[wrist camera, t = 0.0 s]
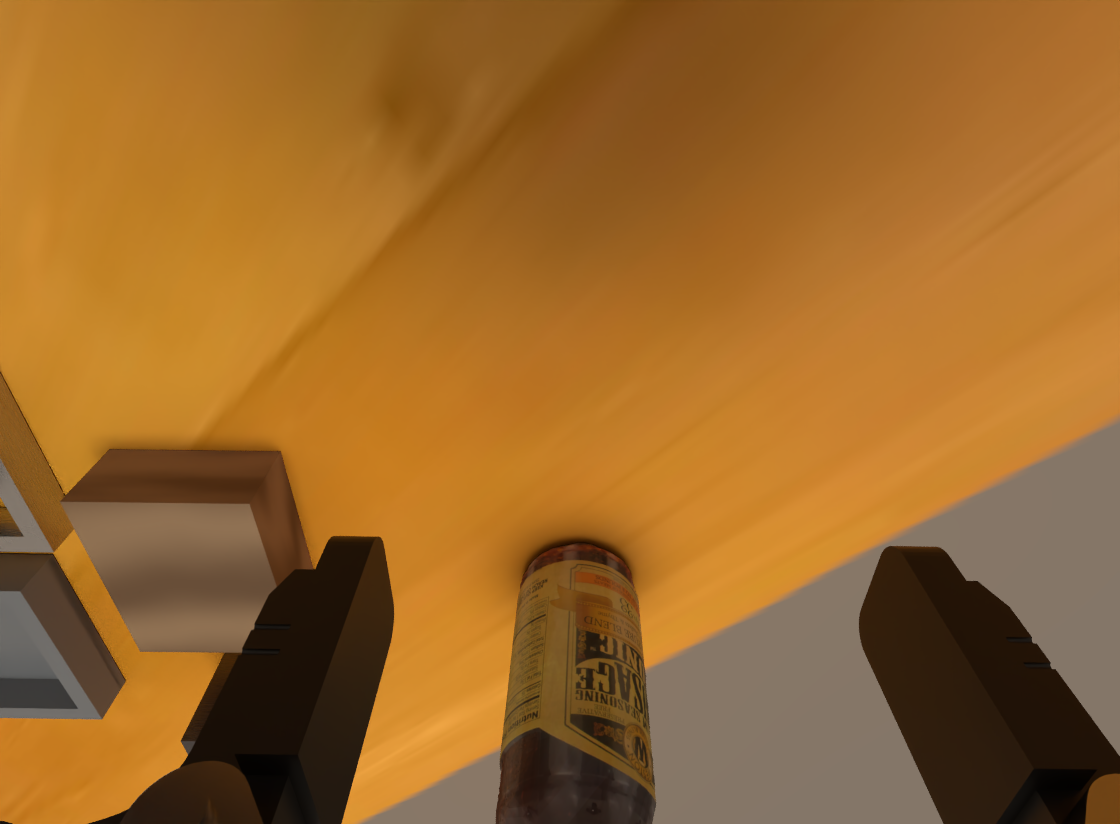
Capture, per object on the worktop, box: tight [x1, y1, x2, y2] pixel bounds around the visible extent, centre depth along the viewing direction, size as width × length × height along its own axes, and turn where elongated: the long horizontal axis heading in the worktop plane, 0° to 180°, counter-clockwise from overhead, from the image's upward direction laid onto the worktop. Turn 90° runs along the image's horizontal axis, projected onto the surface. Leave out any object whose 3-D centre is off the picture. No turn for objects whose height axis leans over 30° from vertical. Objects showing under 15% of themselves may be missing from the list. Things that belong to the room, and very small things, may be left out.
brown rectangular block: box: [60, 449, 313, 653], centre depth 32 cm, size 10×8×4 cm
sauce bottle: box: [496, 543, 656, 824], centre depth 27 cm, size 6×6×20 cm
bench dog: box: [181, 653, 242, 755], centre depth 37 cm, size 4×4×6 cm
